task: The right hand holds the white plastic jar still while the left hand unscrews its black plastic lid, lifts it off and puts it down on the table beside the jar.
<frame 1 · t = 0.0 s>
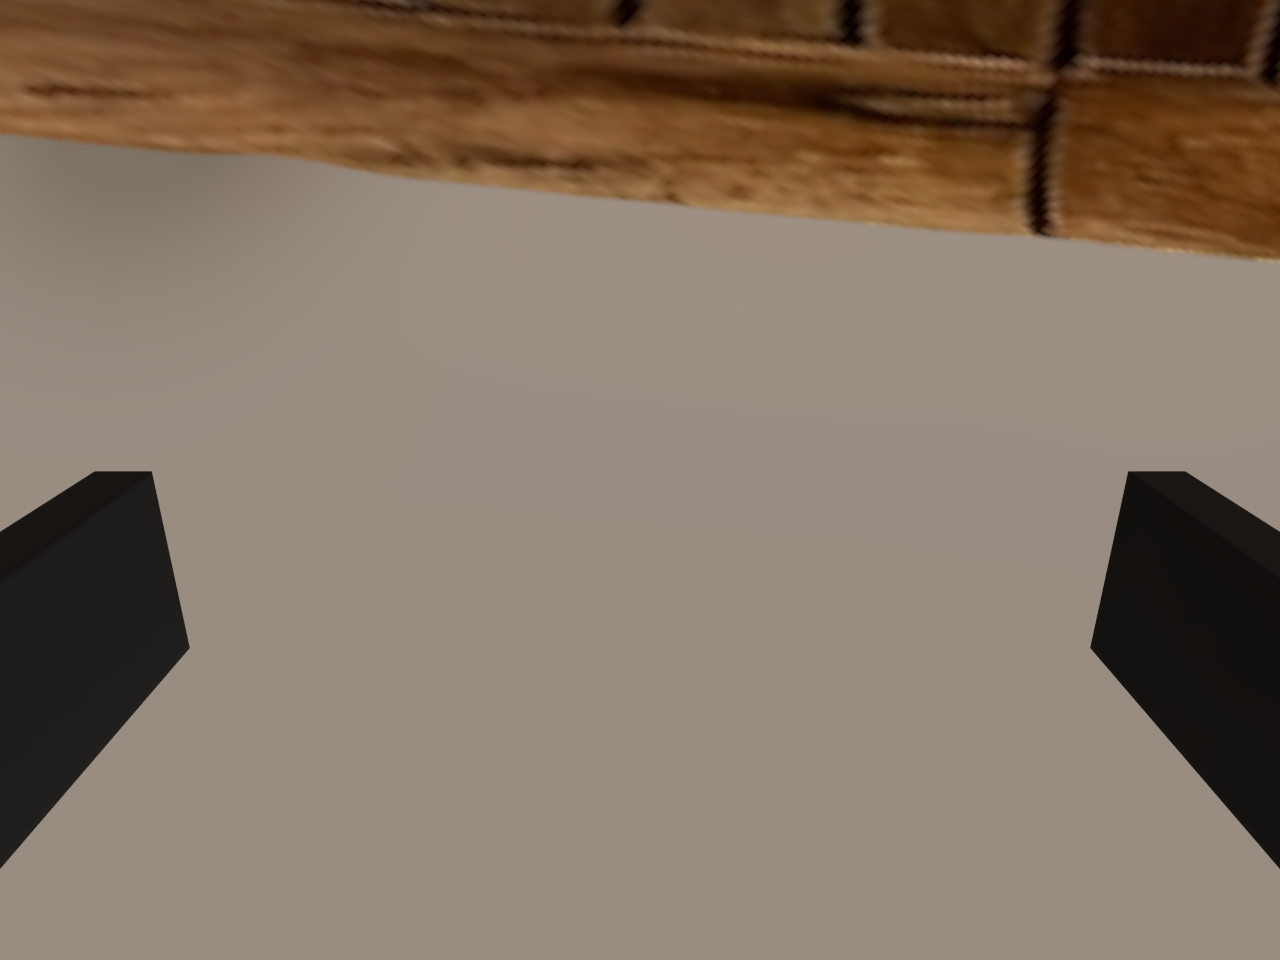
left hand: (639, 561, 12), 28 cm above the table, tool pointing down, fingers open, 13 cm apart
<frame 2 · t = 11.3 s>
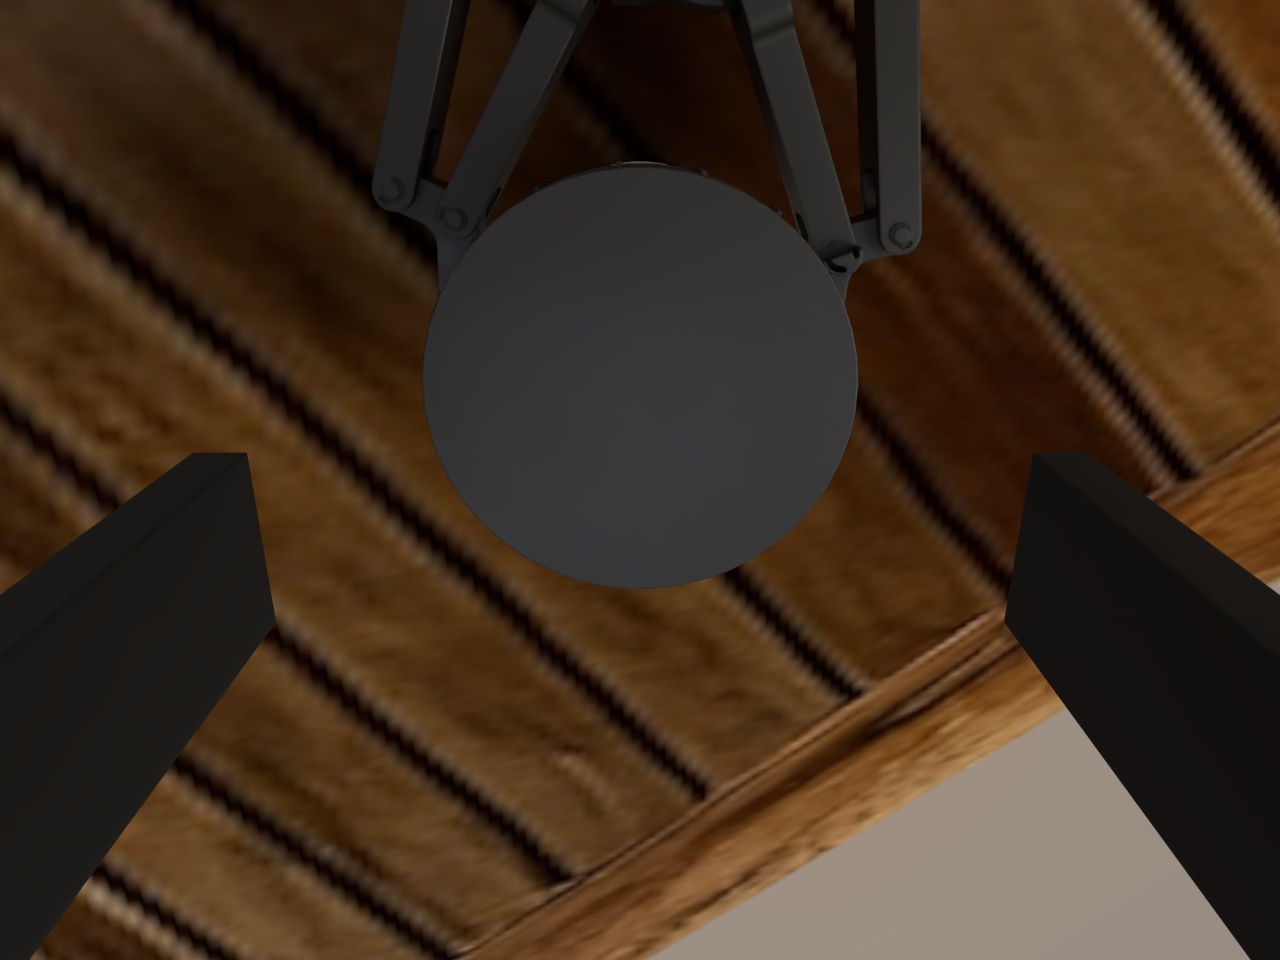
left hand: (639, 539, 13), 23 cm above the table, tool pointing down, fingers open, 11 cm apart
lid: (640, 392, 20), point 15 cm above the table, screwed on, not yet turned
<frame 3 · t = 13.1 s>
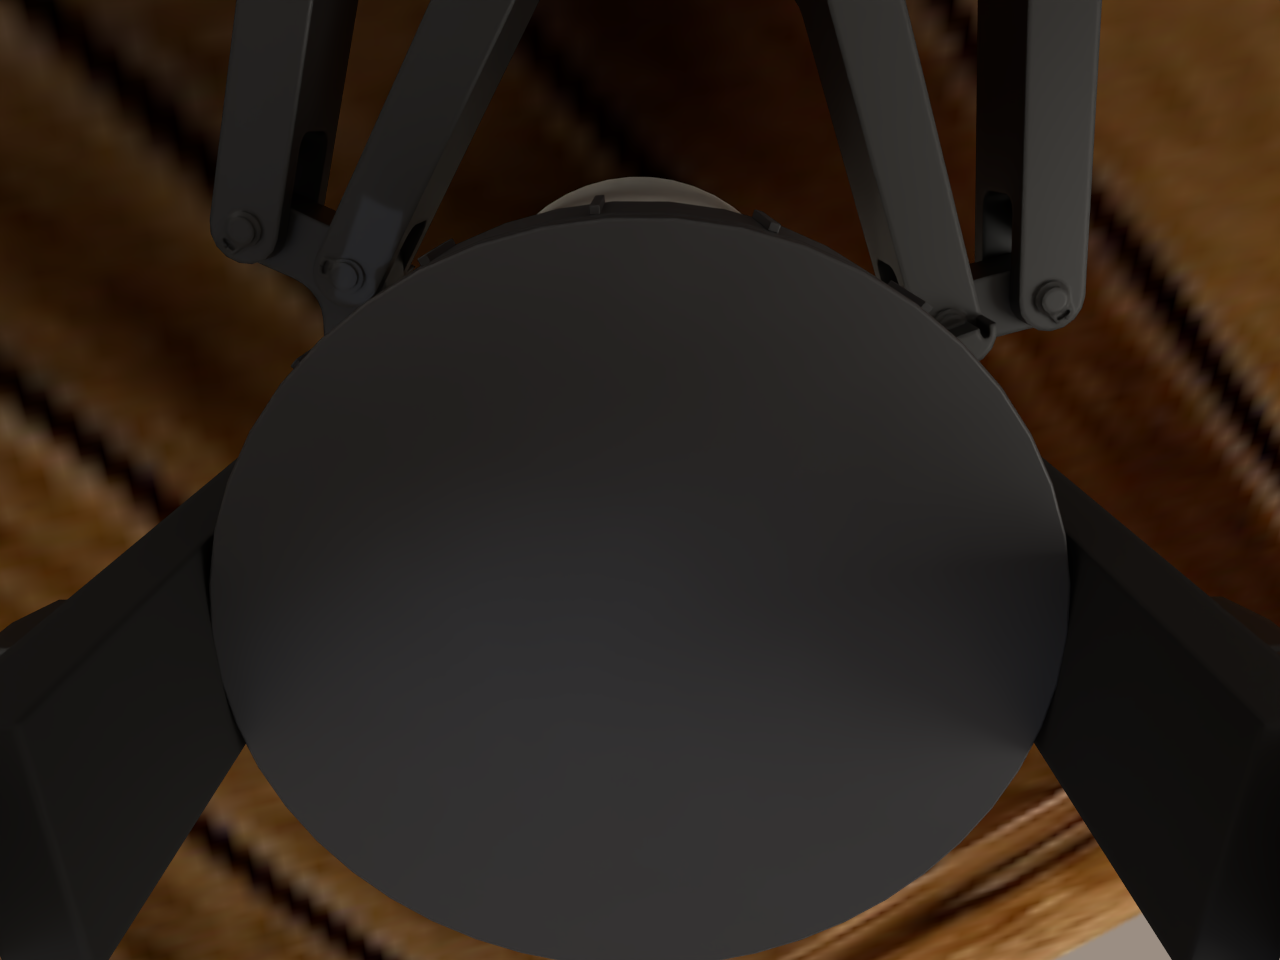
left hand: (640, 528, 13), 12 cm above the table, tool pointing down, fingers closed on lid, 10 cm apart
jar: (639, 342, 25), on the table, touching right hand
lid: (639, 641, 10), point 15 cm above the table, screwed on, not yet turned, touching left hand
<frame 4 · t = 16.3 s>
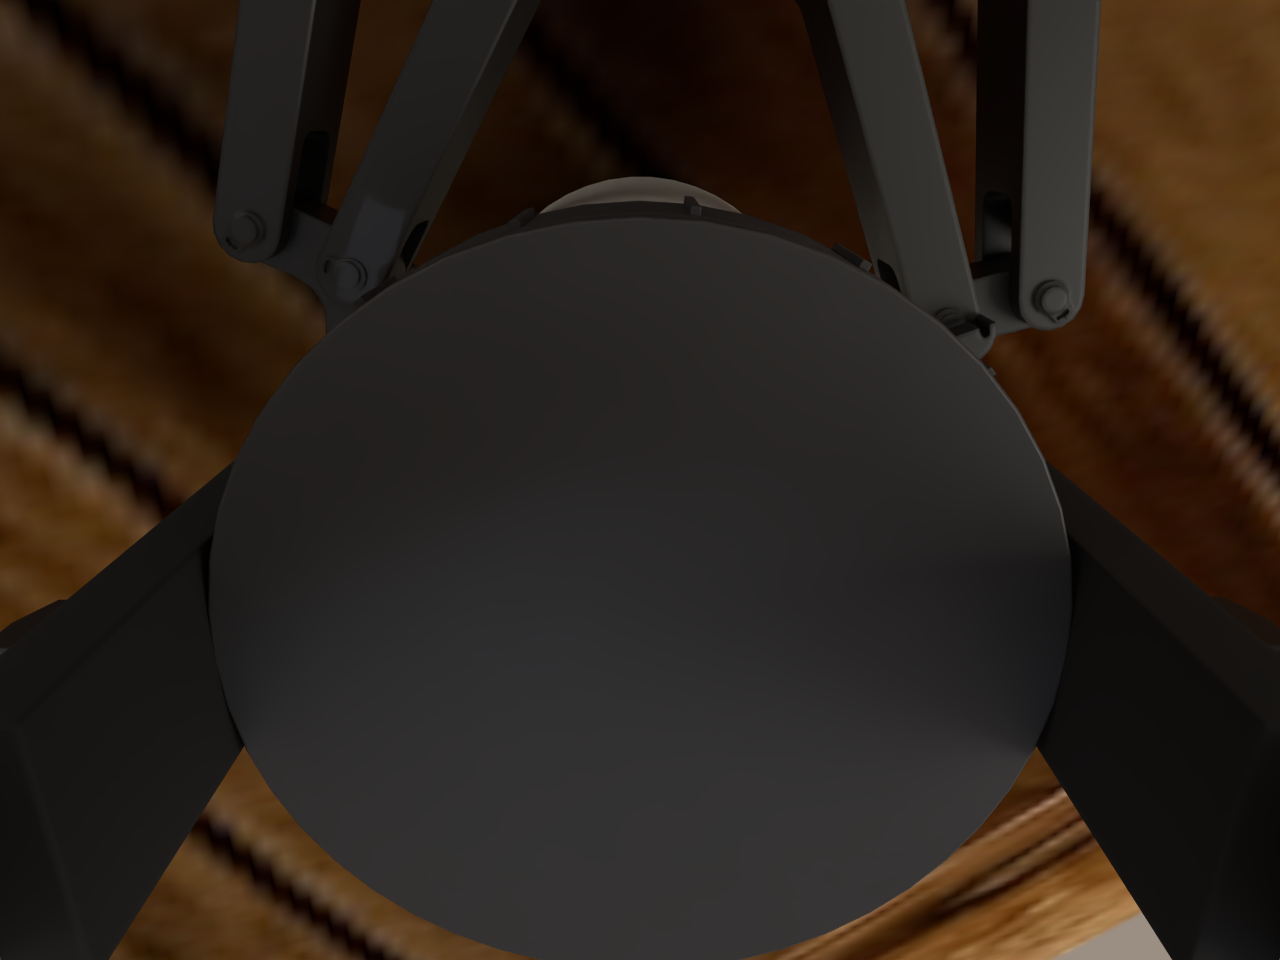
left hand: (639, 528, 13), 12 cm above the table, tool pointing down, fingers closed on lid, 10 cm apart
jar: (640, 342, 25), on the table, touching right hand
lid: (640, 643, 10), point 15 cm above the table, turned 94° so far, risen 0.1 cm, still on its thread, touching left hand
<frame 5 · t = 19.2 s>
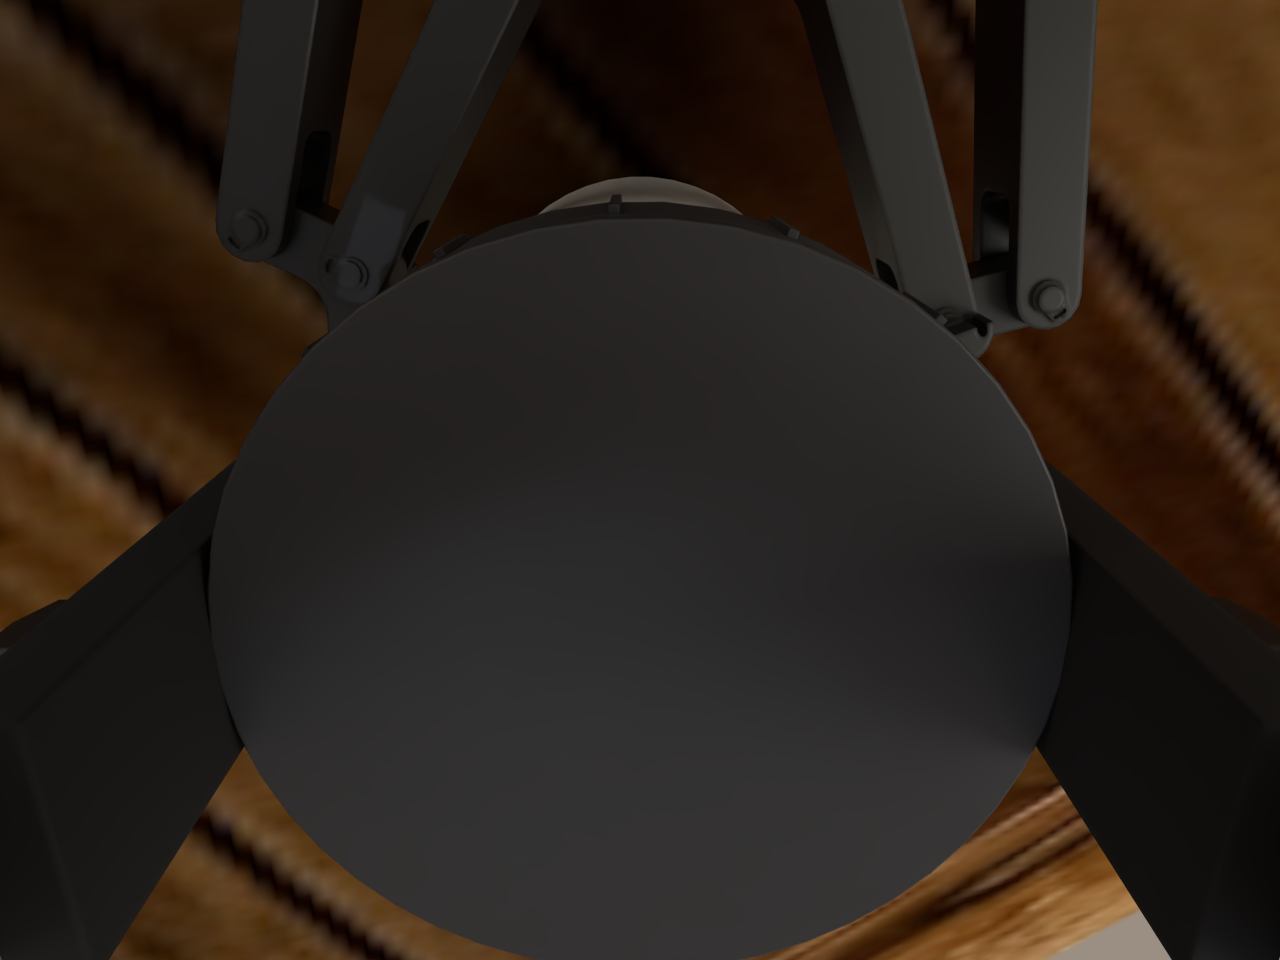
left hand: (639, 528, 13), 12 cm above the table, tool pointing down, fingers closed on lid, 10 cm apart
jar: (640, 341, 25), on the table, touching right hand
lid: (639, 644, 10), point 16 cm above the table, turned 188° so far, risen 0.2 cm, still on its thread, touching left hand
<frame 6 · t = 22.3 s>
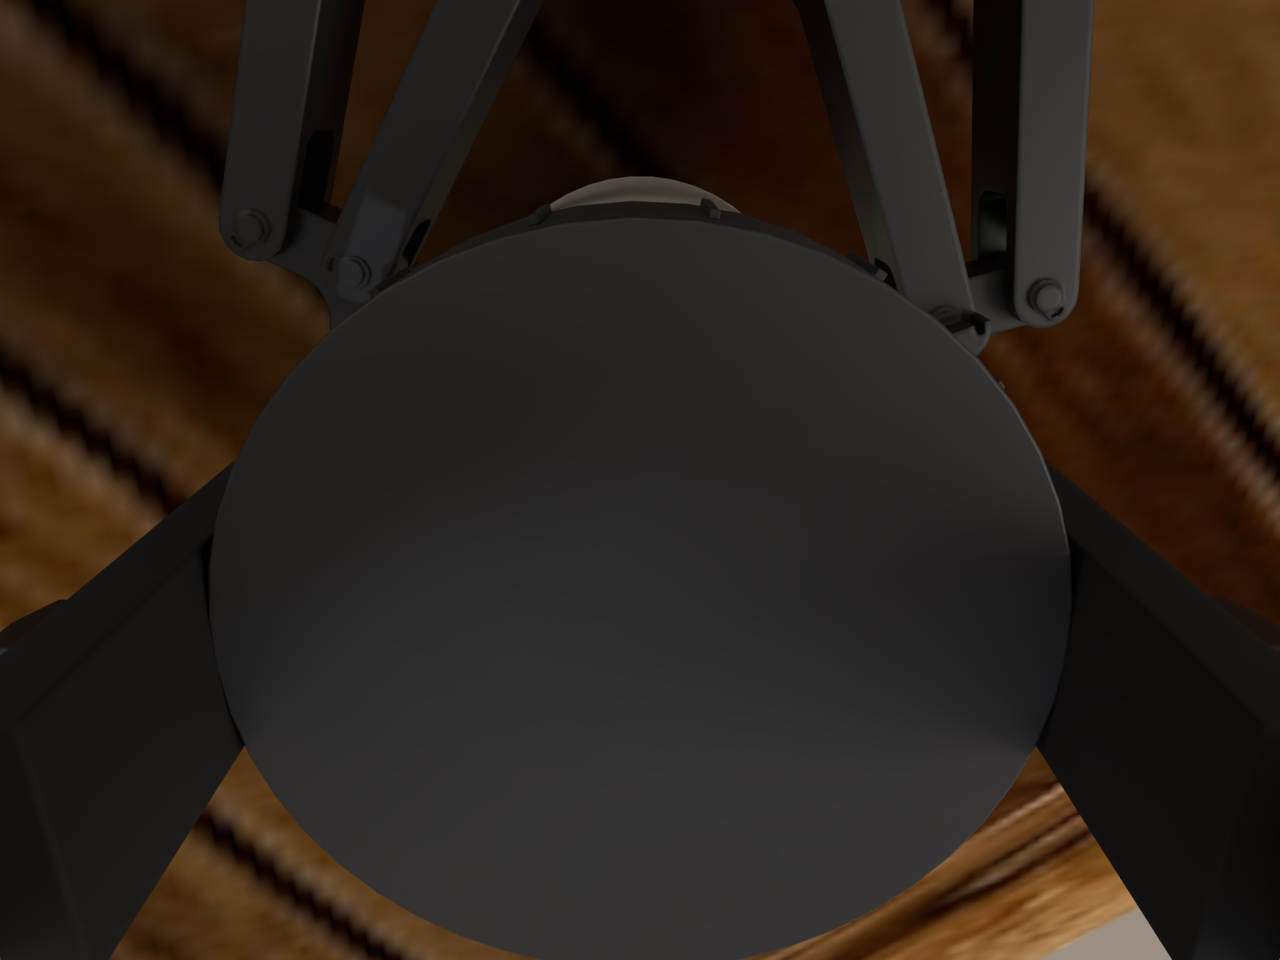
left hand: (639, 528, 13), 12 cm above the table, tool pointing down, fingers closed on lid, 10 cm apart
jar: (640, 340, 25), on the table, touching right hand
lid: (640, 643, 10), point 16 cm above the table, turned 283° so far, risen 0.3 cm, still on its thread, touching left hand
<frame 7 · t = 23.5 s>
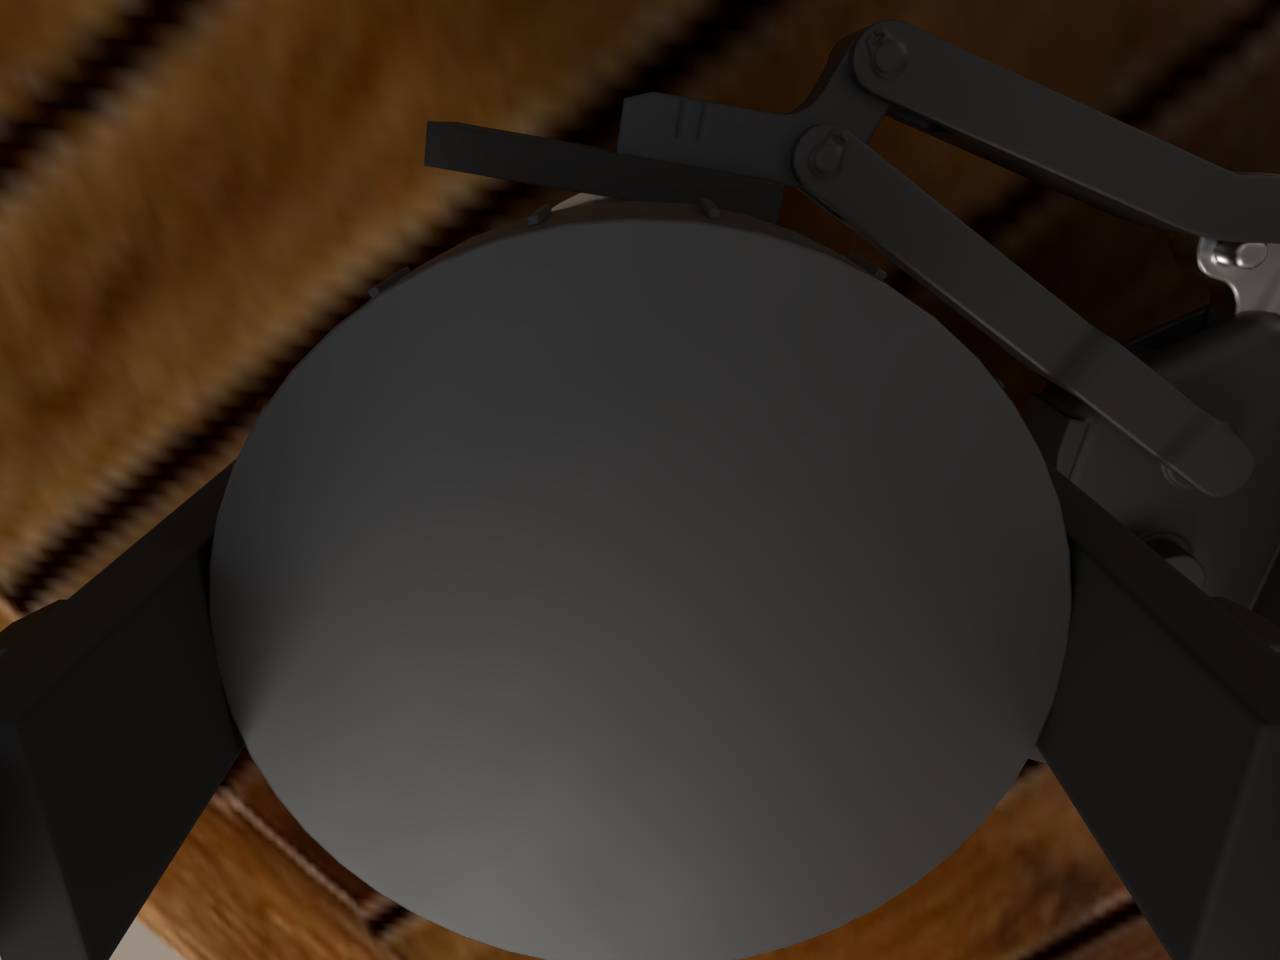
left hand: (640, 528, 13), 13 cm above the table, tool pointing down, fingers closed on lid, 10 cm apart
jar: (638, 343, 25), on the table, touching right hand
lid: (640, 643, 10), point 16 cm above the table, off its thread, touching left hand
when the left hand's fingers open (0 cm above the table, at t = 29.4 s): lid drops 2 cm, point 2 cm above the table.
when the right hand's fingers open (6 cm above the table, at t = 30.4 s): jar stays where it is, on the table.
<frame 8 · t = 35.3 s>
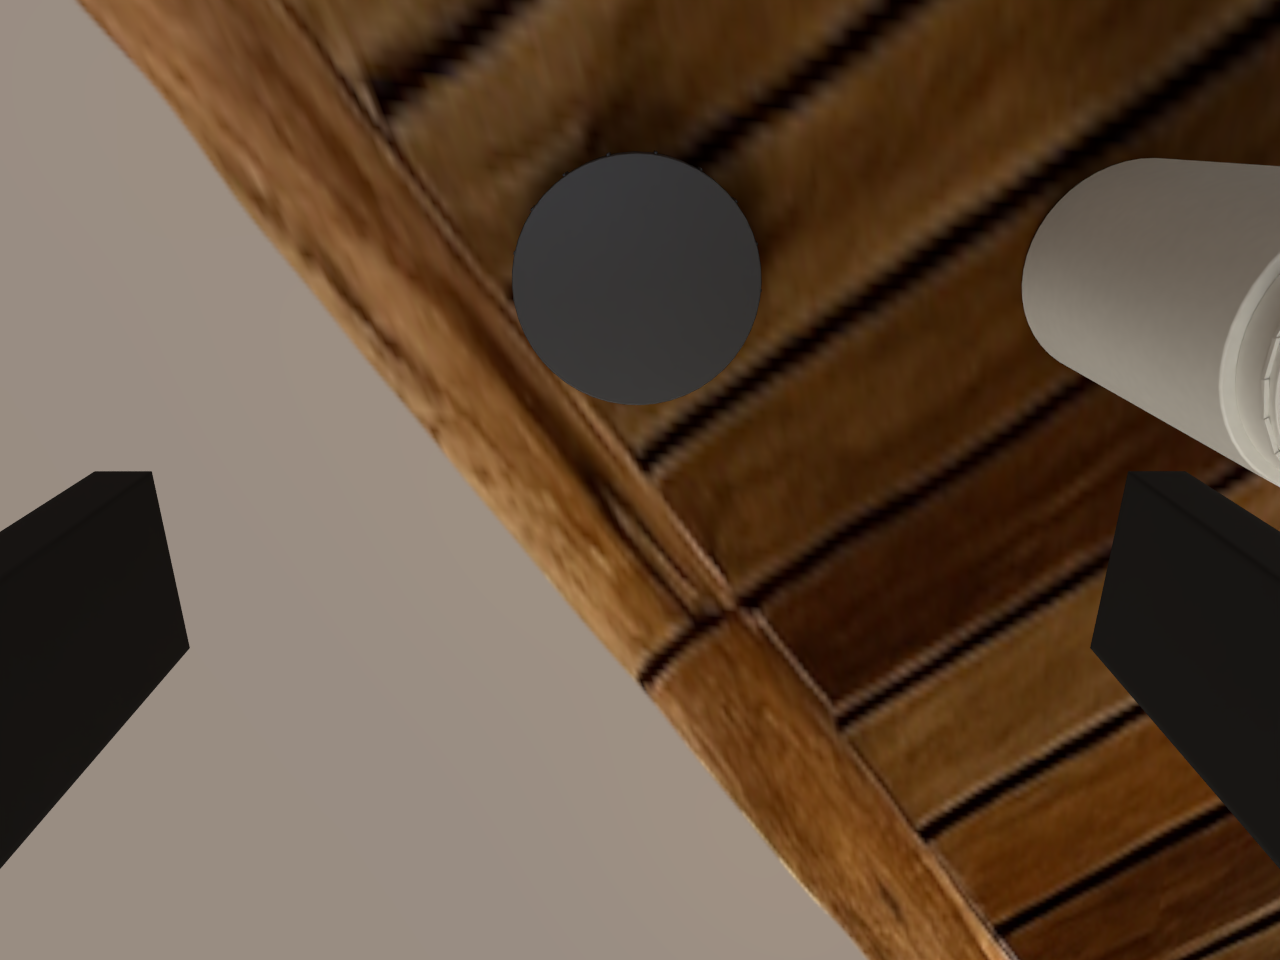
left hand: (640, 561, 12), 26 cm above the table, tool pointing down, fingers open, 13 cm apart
jar: (1129, 271, 36), on the table
lid: (636, 284, 35), point 2 cm above the table, off its thread
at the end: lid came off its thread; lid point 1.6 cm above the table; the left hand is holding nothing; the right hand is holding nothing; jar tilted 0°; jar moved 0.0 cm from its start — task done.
